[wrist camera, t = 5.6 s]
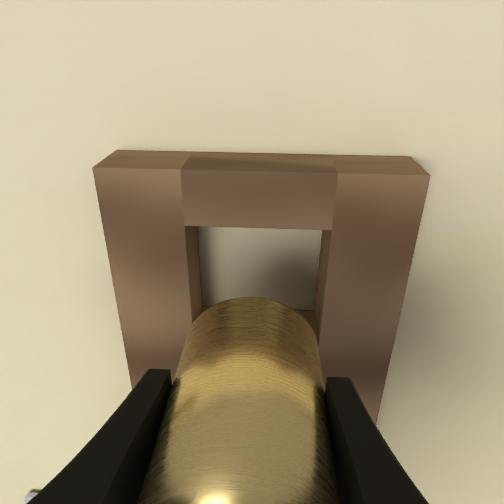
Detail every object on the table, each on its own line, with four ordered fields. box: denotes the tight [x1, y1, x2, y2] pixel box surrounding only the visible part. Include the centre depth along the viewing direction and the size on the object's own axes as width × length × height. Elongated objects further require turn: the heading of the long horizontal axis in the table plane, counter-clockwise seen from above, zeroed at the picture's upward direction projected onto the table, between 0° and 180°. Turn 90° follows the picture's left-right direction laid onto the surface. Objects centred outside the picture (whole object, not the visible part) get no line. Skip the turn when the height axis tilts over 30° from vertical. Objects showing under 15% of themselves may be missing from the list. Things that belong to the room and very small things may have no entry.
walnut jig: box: [92, 150, 431, 425], centre depth 20 cm, size 20×12×2 cm, turn 179°
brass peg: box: [137, 297, 339, 504], centre depth 11 cm, size 4×4×6 cm
